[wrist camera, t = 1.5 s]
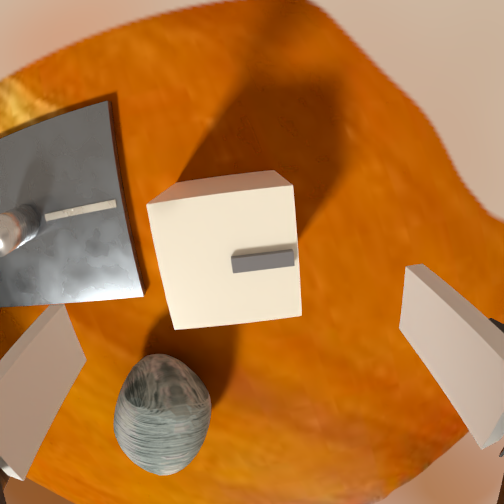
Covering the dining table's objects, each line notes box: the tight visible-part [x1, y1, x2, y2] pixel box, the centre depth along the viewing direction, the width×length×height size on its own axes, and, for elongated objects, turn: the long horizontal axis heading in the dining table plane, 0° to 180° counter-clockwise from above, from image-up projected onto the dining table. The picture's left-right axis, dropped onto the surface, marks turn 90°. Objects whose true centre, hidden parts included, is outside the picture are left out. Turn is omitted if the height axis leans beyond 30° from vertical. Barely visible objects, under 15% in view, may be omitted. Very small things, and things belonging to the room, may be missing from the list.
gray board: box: [0, 101, 146, 307], centre depth 21 cm, size 20×16×5 cm
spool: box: [114, 354, 211, 475], centre depth 27 cm, size 14×10×10 cm
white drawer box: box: [146, 170, 302, 330], centre depth 21 cm, size 7×7×9 cm
